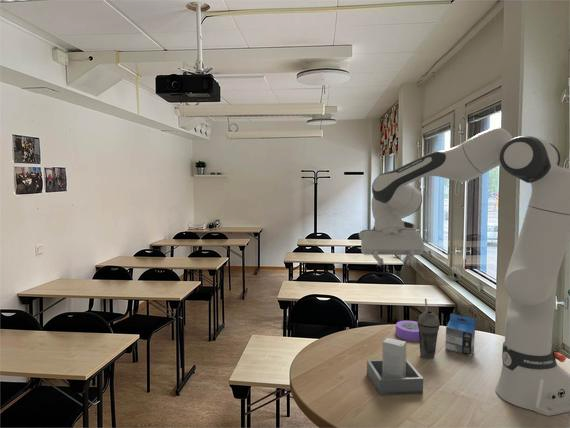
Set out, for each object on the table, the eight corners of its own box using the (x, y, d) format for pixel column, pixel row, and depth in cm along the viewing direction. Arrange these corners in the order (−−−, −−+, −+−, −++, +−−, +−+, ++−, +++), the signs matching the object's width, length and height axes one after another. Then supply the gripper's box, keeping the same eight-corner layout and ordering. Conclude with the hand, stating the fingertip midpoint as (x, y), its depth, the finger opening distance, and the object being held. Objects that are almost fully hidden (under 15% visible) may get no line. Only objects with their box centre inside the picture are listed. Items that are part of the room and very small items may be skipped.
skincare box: (405, 380, 120) (407, 341, 119) (401, 386, 117) (403, 346, 116) (385, 375, 124) (386, 337, 123) (381, 381, 120) (382, 341, 119)
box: (406, 372, 127) (406, 358, 127) (423, 393, 115) (423, 378, 114) (366, 374, 126) (367, 360, 126) (379, 395, 114) (379, 380, 113)
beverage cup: (440, 361, 134) (442, 303, 133) (417, 359, 136) (419, 301, 134) (436, 352, 142) (438, 296, 140) (415, 350, 143) (416, 295, 141)
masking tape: (433, 337, 156) (434, 327, 155) (412, 343, 150) (412, 333, 149) (410, 327, 166) (410, 318, 165) (389, 333, 160) (389, 323, 160)
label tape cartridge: (444, 349, 144) (445, 315, 143) (448, 346, 147) (449, 313, 146) (470, 356, 138) (472, 321, 137) (474, 353, 141) (475, 318, 140)
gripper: (359, 224, 135) (364, 258, 127) (420, 224, 135) (430, 259, 126) (357, 235, 140) (361, 269, 131) (416, 235, 140) (424, 269, 131)
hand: (395, 264), depth 129 cm, fingers open, 8 cm apart
